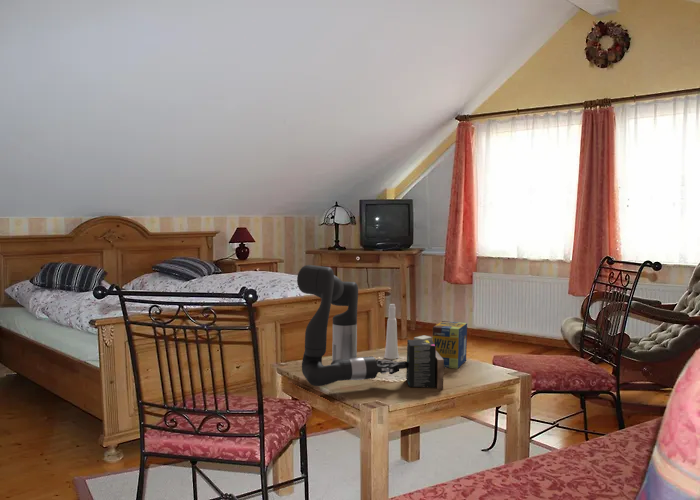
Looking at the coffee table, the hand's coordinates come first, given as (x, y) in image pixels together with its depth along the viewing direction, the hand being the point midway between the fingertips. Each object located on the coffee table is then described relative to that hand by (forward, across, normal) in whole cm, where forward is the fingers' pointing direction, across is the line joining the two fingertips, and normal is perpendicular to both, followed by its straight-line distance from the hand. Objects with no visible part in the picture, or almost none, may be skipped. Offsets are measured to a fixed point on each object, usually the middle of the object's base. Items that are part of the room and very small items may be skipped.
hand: (407, 364), depth 234 cm
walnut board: (+11, 0, +7) cm, 13 cm away
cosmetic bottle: (+12, +40, +7) cm, 42 cm away
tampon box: (+5, 0, +7) cm, 9 cm away
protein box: (+30, +24, +7) cm, 39 cm away
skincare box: (+16, +20, +7) cm, 27 cm away
